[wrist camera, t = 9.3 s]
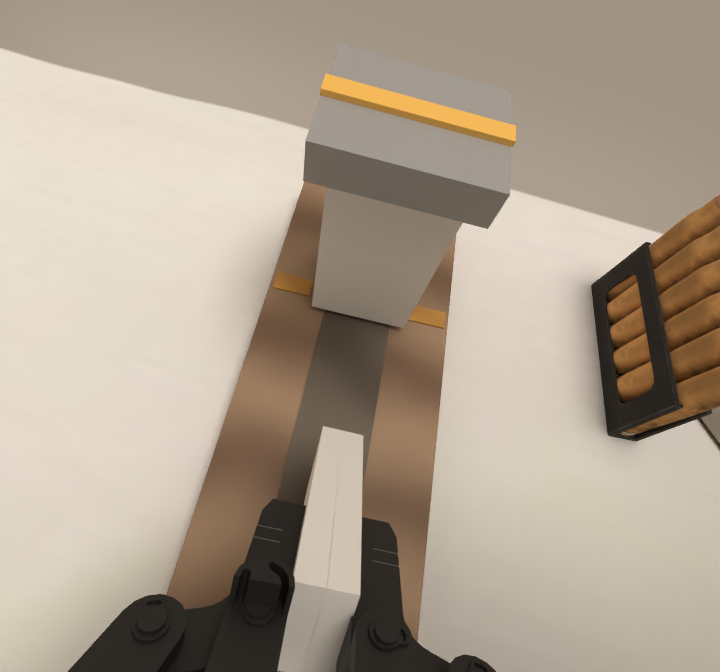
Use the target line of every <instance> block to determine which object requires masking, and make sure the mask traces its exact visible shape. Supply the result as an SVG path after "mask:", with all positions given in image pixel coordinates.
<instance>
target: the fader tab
mask: <svg viewBox="0 0 720 672" xmlns="http://www.w3.org/2000/svg"><path fill="white" fill-rule="evenodd" d="M320 95H321V99H320V102H319V104H318V108H317V110H316V113H315V116H314V118H313V121H312V124H311V127H310V130H309V133H308V135H307V138H306V143H305V161H304V178H303V181H304V182H308V183H312V184H316V185H320V186H324V187H326V193H325V201H324V209H323V217H322V226H321V234H320V242H319V250H318V258H317V266H316V275H315V283H314V291H313V299H312V306H313V307H317V308H321V309H325V310H329V311H334V312H338V313H342V314H346V315H350V316H355V317H359V318H363V319H367V320H371V321H376V322H380V323H384V324H388V325H392V326H396V327H401V328H404V327H405V325H406V323H407V321H408V320H409V318H410V316H411V314H412V313H413V311H414V309H415V307H416V305H417V304H418V302H419V300H420V298H421V296H422V295H423V293H424V291H425V289H426V287H427V286H428V284H429V282H430V280H431V278H432V277H433V275H434V273H435V271H436V269H437V268H438V266H439V264H440V262H441V260H442V259H443V257H444V255H445V253H446V251H447V250H448V248H449V246H450V244H451V242H452V241H453V239H454V237H455V235H456V233H457V232H458V230H459V228H460V226H461V224H462V223H467V224H471V225H475V226H479V227H483V228H487V229H488V228H489V226H490V225H491V223H492V222H493V220H494V218H495V217H496V215H497V214H498V212H499V211H500V209H501V208H502V206H503V205H504V203H505V201H506V200H507V198H508V197H509V195H510V169H511V147H513V145H514V143H515V141H516V126H515V125H512V124H511V120H512V91H509V90H505V89H502V88H498V87H495V86H491V85H488V84H484V83H481V82H477V81H473V80H470V79H466V78H463V77H459V76H456V75H452V74H448V73H445V72H441V71H437V70H434V69H430V68H427V67H423V66H420V65H416V64H413V63H409V62H406V61H402V60H398V59H395V58H391V57H388V56H384V55H380V54H377V53H373V52H370V51H366V50H363V49H359V48H356V47H352V46H348V45H345V44H341V43H340V45H339V48H338V51H337V53H336V56H335V59H334V62H333V65H332V68H331V70H330V73H329V74H326V75H325V78H324V81H323V83H322V86H321V91H320Z"/></svg>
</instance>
